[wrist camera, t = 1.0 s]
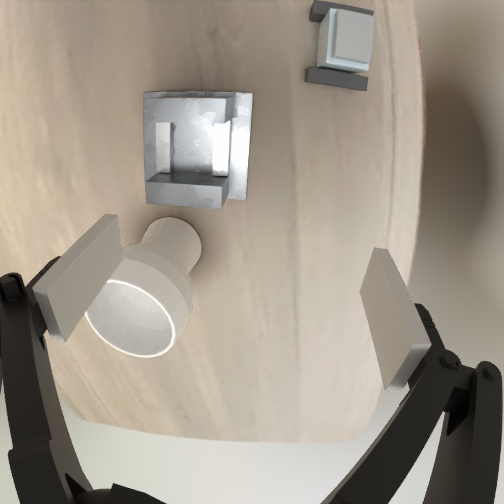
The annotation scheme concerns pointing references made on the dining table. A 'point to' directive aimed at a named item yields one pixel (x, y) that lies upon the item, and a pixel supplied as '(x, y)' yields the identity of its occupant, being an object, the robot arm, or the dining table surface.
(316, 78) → the pair of dark bars
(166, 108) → the port
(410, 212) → the dining table surface
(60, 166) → the dining table surface
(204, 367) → the dining table surface
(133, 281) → the cup
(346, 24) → the plug
